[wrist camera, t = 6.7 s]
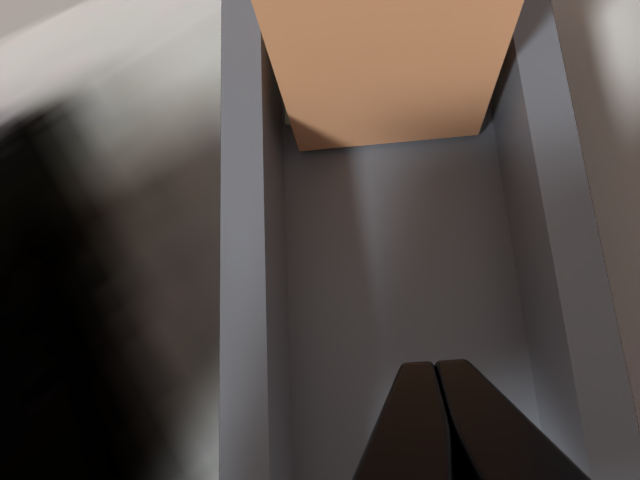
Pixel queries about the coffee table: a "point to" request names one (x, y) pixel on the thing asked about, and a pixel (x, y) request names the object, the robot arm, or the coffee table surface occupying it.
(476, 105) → the terracotta block
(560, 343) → the charcoal chute
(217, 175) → the coffee table surface
